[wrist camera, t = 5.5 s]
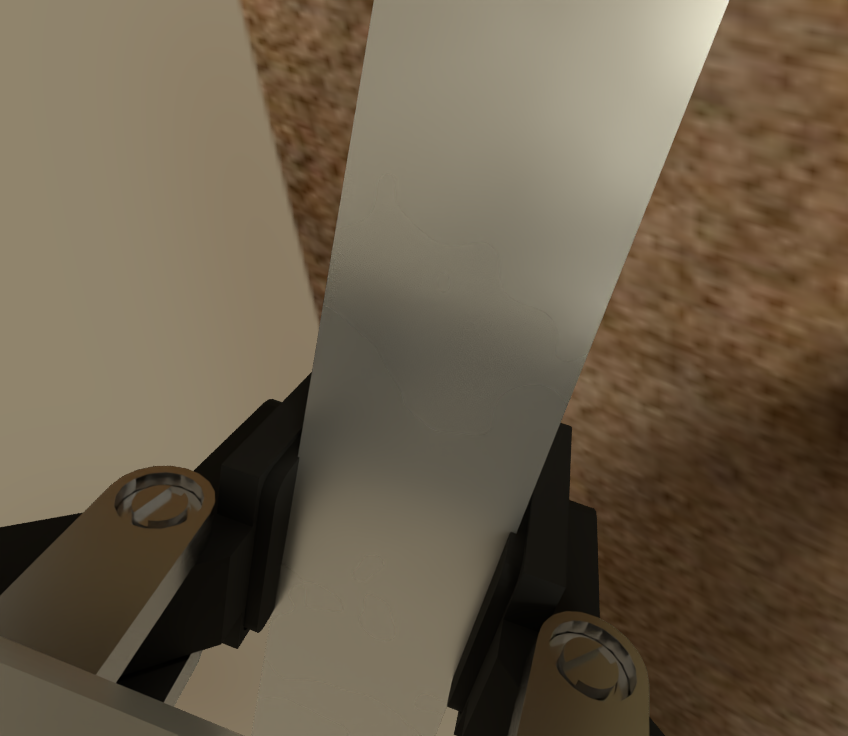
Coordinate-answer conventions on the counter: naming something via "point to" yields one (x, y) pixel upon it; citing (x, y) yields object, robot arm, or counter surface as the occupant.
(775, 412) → the counter surface
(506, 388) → the rail
